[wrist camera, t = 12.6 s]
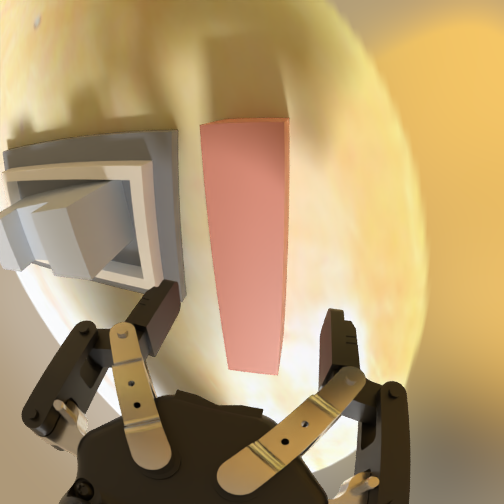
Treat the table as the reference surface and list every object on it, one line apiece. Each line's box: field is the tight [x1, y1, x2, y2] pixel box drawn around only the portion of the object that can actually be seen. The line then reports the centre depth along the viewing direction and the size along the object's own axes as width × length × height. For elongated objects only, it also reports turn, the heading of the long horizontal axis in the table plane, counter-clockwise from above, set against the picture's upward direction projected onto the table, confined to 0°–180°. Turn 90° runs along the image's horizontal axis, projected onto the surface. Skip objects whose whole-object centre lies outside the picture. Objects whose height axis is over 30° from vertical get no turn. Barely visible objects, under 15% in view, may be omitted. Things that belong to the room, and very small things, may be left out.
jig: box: [1, 130, 186, 302], centre depth 21 cm, size 14×22×2 cm, turn 87°
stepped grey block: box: [0, 180, 136, 280], centre depth 18 cm, size 5×14×6 cm, turn 95°
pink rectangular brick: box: [200, 118, 289, 375], centre depth 18 cm, size 18×4×5 cm, turn 2°
